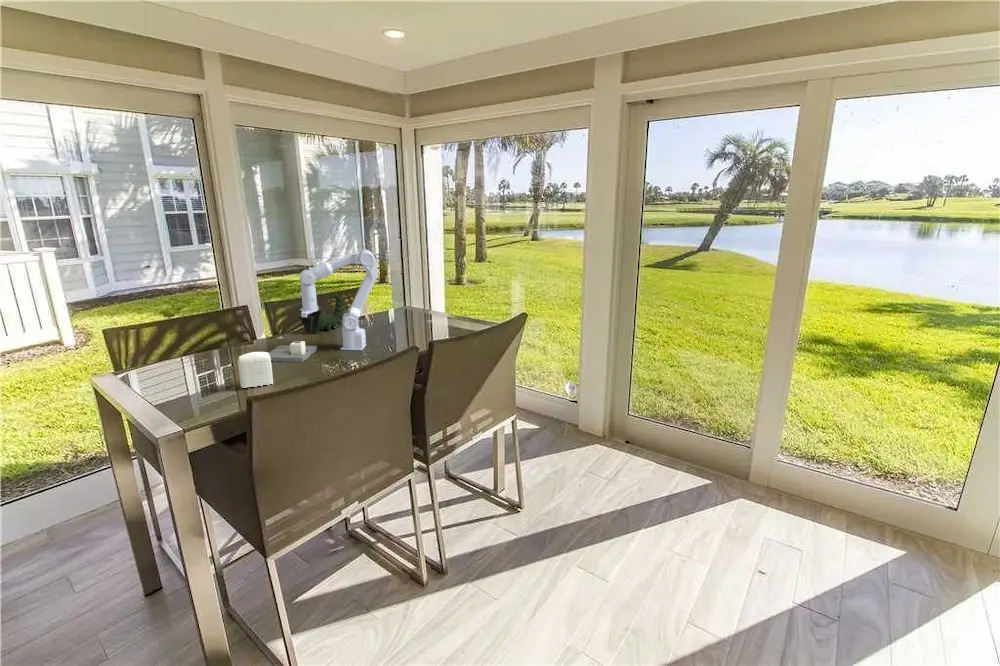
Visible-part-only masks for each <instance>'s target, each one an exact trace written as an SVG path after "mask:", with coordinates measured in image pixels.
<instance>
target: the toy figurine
mask: <svg viewBox="0 0 1000 666" xmlns="http://www.w3.org/2000/svg"><path fill="white" fill-rule="evenodd" d="M332 298H334V299H335V301H336V302H335V304H334V305H335V307H334V311H333V314H331V315H328V314H326V313H324V311H322V313H321V315H320V318H319V324H318V327H317V328H313V327H312V331H311V332H310V333H312V332H318V333H319V332H320V330H322V328H323V329H324V328H326V329H327V330H326V329H325V330H326V331H330V330H329V329H332V328H331V327H337V328H338V326H342V325H343V321H341V319H342V317H343V315H344V313H345V311H346V309H345V308H343V307H344V306H345V305H346V303H344V301H345V298H343V297H342V296H340V295H339V294H338V293H337V292H334V293H330V295H329V299H332ZM343 312H344V313H343ZM337 325H338V326H337Z"/></svg>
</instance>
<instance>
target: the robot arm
mask: <svg viewBox="0 0 1000 666" xmlns="http://www.w3.org/2000/svg"><path fill="white" fill-rule="evenodd" d="M318 263H319V264H317V265H314V266H313V267H312V266H309V267H308V269H304V270H302V271H301V273H300V275H299V281H300V290H301V291H300V292H301V302H302V303H301V304H302V307H301V308H300V309H299V311H301V313H300V315H299V316H298V318H299V320H300V322H301V323H302V325H303V328H304V331H305V333H312V332H311V331H312V327H313V328H317V327H318V324H319V318H320V315H321V313H322V312H323V311H322V310H320V307H319V306H320V305H318V300H317V289H316V284H315V281H319V280H322V279H325V278H326V277H327V278H328V277H329V276H331V275H332V274H333V272H334V271H336V270H337V269H340V268H344V267H345V266H347V265H348V266H349V265H350V264H353V265H359V263H360V265H361V266H362V268H364V271H365V273H366V274H365V275H364V278H363V280H362V282H361V284H360V286H359V288H358V291H357V292H356V295H354V296H355V297H354V298H353V301H352V303H351V305H350V307H348V310H346V312H344V313H343V317H342V318H341V319H342V325H343V326H342V327H341V334H342V347H340V350H341V351H363V350H364V348H365V347H366V346H367V342H366V341H367V340H366V339H367V338H366V329H365V328H361V327H360V326H359V318H360V317H361V312H362V309H363V308H364V305H365V304H366V302H367V299H368V297H369V296H370V293H371V291H372V289H373V287H374V285H375V284H376V283H375V282H376V281H377V279H378V276H379V270H378V269H379V268H378V264H377V259H376V258H375V256H374V254H373V252H372V251H371V250H369V249H361V250H360V251H359V250H358V251H355V252H352V253H349V254H346V255H345V256H342V257H341V258H339V259H336V260H335V261H332V262H327V261H324V262H323V261H320V262H318Z"/></svg>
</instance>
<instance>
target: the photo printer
mask: <svg viewBox="0 0 1000 666" xmlns="http://www.w3.org/2000/svg"><path fill="white" fill-rule="evenodd" d="M237 367H238V374H239V383H240V388H241V387H242V388H247V387H255V388H258V387H257V386H261V387H264V386H263V385H267V386H271V385H270V384H272V385H273V384H274V379H273V378H274V377H273V366H272V362H271V358H270V355H269V352H266V351H251V352H248V353H244V354H241V355H239V356H238V360H237ZM242 388H241V389H242Z"/></svg>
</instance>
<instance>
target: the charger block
mask: <svg viewBox="0 0 1000 666" xmlns="http://www.w3.org/2000/svg"><path fill="white" fill-rule="evenodd" d="M289 345H290V349H291V355H303V354H304V353H306V348H305V346H306V341H304V340H294V341H293V342H291V343H290V344H289Z"/></svg>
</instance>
